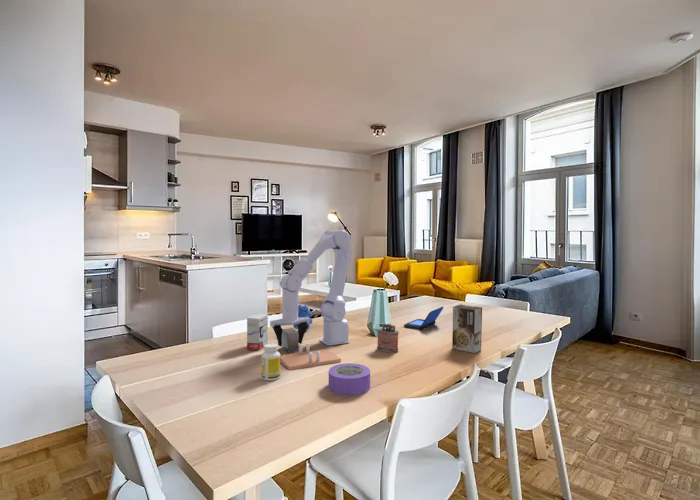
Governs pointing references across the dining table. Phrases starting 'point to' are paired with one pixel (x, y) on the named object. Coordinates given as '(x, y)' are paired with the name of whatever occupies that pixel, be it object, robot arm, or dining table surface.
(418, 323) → the handheld game console
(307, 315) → the grapes
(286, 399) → the dining table surface
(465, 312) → the coffee box
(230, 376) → the dining table surface
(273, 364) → the supplement bottle
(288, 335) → the grey rectangular block
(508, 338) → the dining table surface
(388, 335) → the lighter
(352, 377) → the tape roll
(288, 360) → the pin tray
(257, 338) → the ink box
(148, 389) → the dining table surface
